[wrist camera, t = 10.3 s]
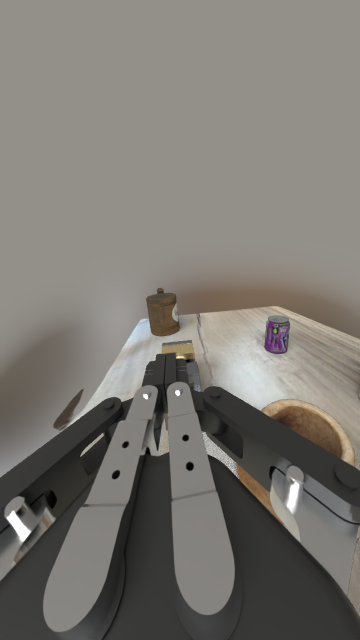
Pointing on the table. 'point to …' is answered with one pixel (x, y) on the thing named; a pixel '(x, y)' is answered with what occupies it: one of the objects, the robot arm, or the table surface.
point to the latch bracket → (187, 352)
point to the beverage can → (277, 334)
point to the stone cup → (310, 426)
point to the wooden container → (163, 313)
